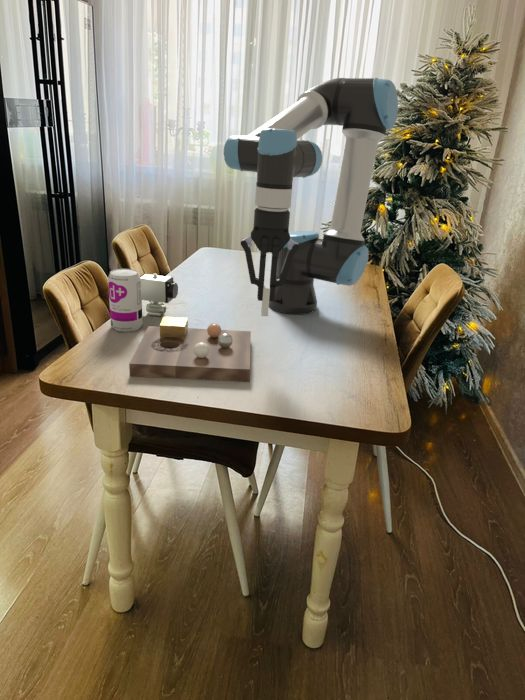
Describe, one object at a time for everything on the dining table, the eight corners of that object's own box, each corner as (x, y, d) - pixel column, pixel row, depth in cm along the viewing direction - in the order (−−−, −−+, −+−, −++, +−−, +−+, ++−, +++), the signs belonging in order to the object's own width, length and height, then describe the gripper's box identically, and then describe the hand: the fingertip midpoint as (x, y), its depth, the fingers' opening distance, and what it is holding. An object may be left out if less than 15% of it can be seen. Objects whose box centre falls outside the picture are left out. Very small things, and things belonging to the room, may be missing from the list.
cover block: (187, 328, 129) (187, 317, 127) (184, 338, 123) (184, 326, 122) (164, 327, 128) (163, 316, 127) (159, 336, 123) (159, 325, 122)
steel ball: (232, 344, 121) (233, 331, 120) (232, 350, 118) (232, 337, 117) (218, 344, 121) (218, 330, 120) (217, 350, 118) (217, 336, 117)
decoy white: (209, 354, 116) (210, 340, 114) (208, 360, 113) (208, 346, 111) (194, 353, 116) (194, 339, 114) (192, 360, 112) (192, 345, 111)
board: (250, 342, 131) (250, 331, 130) (249, 381, 111) (249, 369, 110) (149, 336, 130) (148, 326, 129) (129, 376, 110) (129, 363, 109)
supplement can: (126, 335, 130) (123, 278, 124) (104, 327, 134) (100, 272, 128) (149, 326, 137) (147, 272, 131) (127, 319, 141) (124, 266, 134)
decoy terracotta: (221, 334, 127) (222, 321, 125) (220, 340, 124) (221, 326, 122) (207, 334, 127) (207, 320, 125) (206, 339, 123) (206, 326, 122)
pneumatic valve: (172, 319, 142) (172, 278, 137) (133, 314, 144) (131, 273, 139) (179, 313, 147) (179, 273, 142) (141, 308, 149) (140, 268, 144)
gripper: (301, 207, 110) (291, 310, 120) (242, 203, 110) (236, 307, 119) (304, 213, 104) (294, 321, 113) (241, 208, 103) (235, 317, 112)
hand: (264, 313), depth 116 cm, fingers closed
